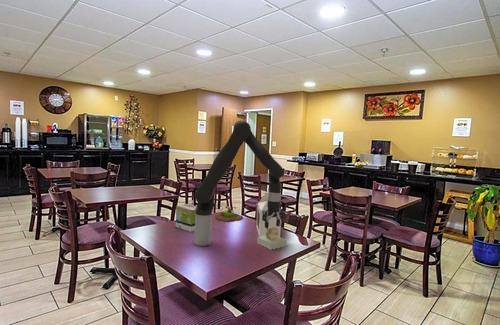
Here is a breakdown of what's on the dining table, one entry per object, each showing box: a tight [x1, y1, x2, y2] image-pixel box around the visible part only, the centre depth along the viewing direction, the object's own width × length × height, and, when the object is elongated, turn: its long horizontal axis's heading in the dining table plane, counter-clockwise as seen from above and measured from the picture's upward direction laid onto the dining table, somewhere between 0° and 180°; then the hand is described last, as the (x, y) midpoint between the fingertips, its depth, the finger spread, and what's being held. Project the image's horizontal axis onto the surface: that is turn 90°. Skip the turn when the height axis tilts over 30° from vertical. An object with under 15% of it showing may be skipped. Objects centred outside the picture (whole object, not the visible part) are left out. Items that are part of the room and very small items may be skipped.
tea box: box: [175, 203, 197, 233], centre depth 191 cm, size 15×10×15 cm, turn 55°
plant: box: [214, 204, 244, 223], centre depth 220 cm, size 20×20×11 cm
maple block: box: [266, 227, 279, 241], centre depth 168 cm, size 5×5×6 cm
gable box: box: [255, 188, 282, 237], centre depth 190 cm, size 22×13×28 cm, turn 3°
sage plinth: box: [256, 235, 287, 251], centre depth 168 cm, size 12×12×4 cm
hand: (272, 227), depth 168 cm, fingers open, 8 cm apart
